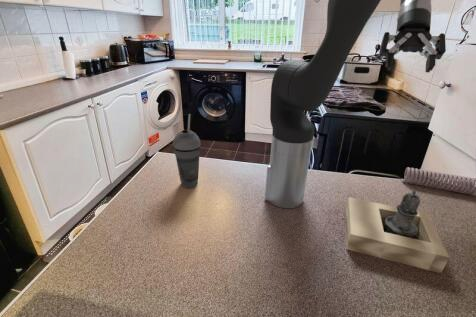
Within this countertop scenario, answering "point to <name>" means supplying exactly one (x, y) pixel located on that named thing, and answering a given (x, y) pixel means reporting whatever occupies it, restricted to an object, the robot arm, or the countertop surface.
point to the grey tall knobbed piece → (404, 217)
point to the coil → (425, 177)
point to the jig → (393, 236)
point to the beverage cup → (187, 156)
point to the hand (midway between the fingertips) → (409, 69)
